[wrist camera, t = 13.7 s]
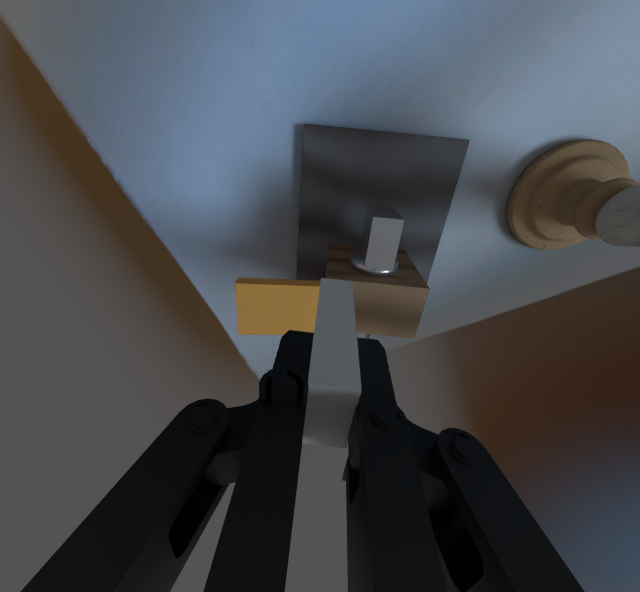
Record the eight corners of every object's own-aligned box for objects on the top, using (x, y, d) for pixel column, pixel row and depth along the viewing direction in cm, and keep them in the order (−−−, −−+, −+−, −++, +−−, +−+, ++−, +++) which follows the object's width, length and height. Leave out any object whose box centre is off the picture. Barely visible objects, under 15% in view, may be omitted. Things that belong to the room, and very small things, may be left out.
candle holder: (491, 182, 33) (666, 226, 16) (610, 113, 30) (1018, 69, 12) (521, 264, 38) (682, 370, 20) (627, 213, 34) (940, 289, 16)
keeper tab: (237, 277, 26) (235, 283, 25) (330, 281, 27) (331, 286, 26) (240, 327, 29) (238, 334, 28) (324, 328, 30) (325, 335, 29)
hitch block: (305, 124, 31) (289, 114, 21) (466, 140, 31) (531, 138, 21) (295, 307, 43) (282, 360, 32) (413, 319, 43) (438, 376, 32)
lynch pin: (356, 203, 30) (361, 215, 25) (402, 207, 30) (416, 221, 25) (337, 337, 39) (337, 367, 34) (373, 340, 39) (379, 371, 34)
